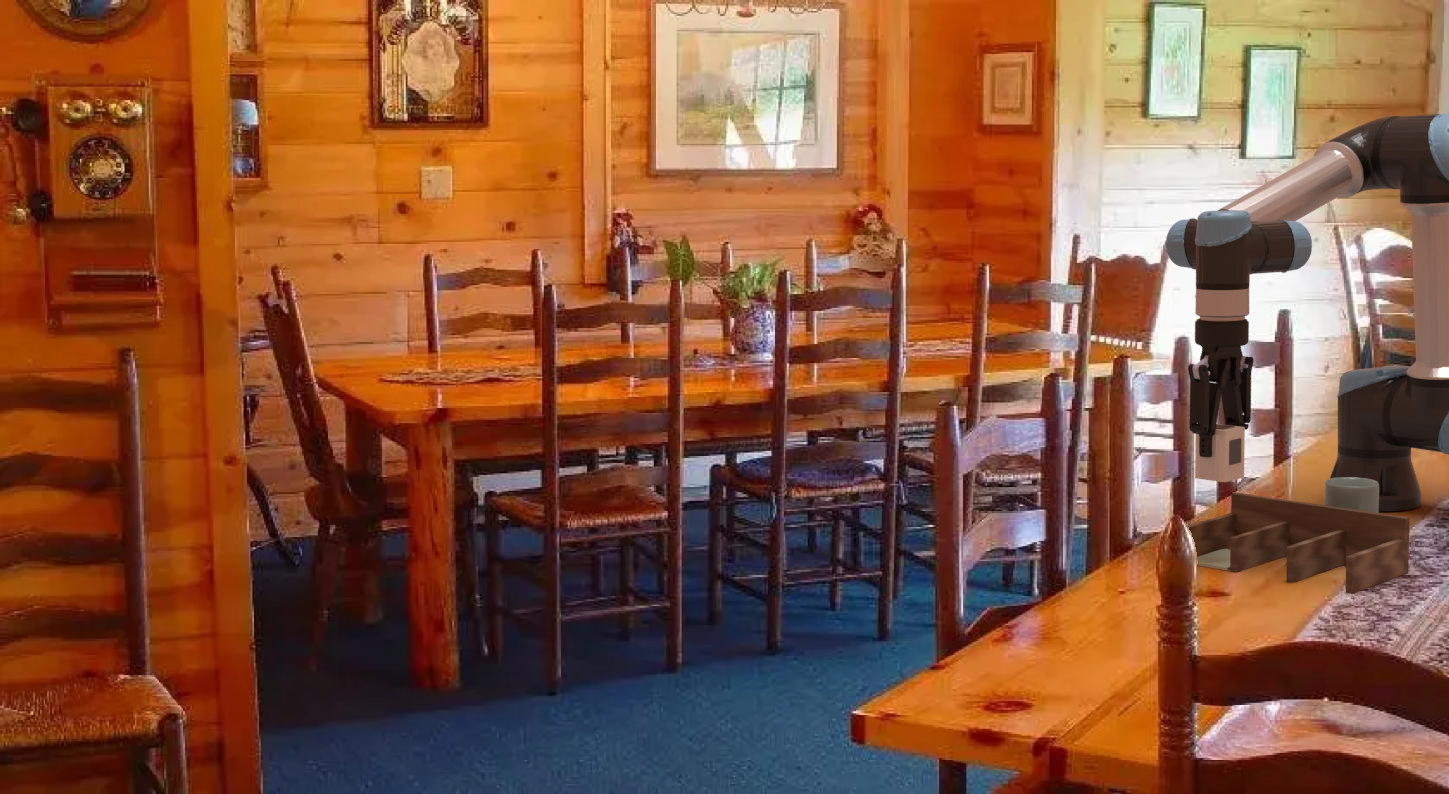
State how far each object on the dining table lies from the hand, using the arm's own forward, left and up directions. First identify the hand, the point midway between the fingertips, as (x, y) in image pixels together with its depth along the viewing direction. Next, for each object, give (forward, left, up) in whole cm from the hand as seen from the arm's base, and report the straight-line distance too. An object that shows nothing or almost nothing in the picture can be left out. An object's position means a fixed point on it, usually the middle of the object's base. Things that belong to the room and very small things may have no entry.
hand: (1219, 475), depth 257 cm
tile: (-2, 0, -13) cm, 13 cm away
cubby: (-5, +9, -13) cm, 17 cm away
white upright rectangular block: (0, 0, 0) cm, 0 cm away
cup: (-22, +9, -13) cm, 27 cm away
